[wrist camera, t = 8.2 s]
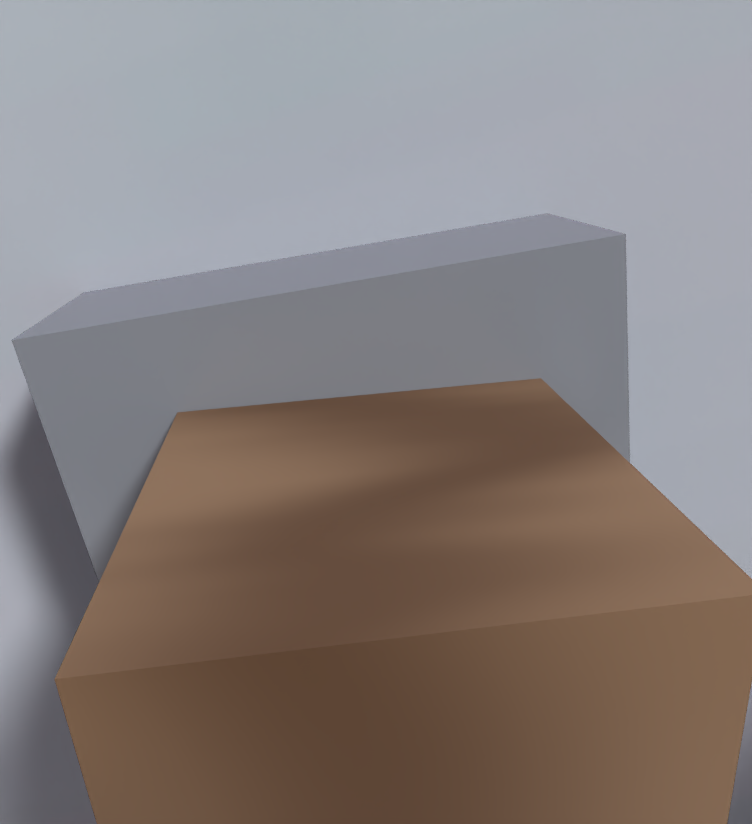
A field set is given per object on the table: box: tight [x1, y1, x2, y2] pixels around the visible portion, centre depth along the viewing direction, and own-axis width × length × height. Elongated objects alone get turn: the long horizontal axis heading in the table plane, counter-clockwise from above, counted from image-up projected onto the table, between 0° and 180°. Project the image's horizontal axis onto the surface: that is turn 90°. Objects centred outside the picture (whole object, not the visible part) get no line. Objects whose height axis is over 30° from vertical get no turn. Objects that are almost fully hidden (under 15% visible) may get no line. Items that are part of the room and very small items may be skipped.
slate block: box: [12, 214, 630, 582], centre depth 12 cm, size 8×8×4 cm
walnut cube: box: [55, 378, 752, 824], centre depth 8 cm, size 5×5×5 cm
